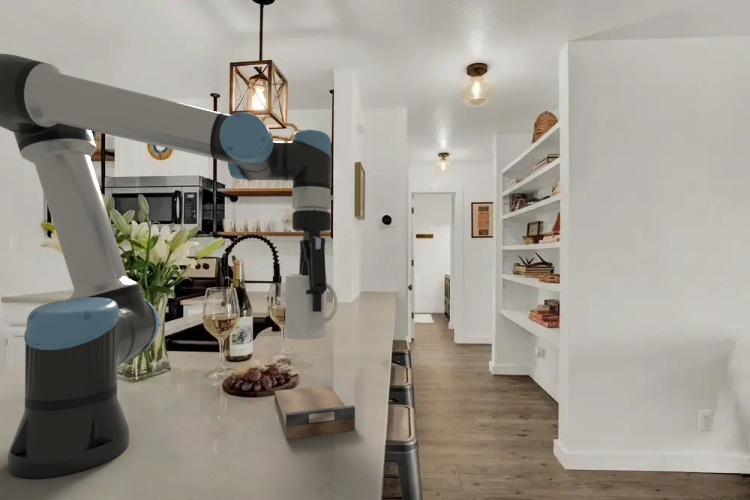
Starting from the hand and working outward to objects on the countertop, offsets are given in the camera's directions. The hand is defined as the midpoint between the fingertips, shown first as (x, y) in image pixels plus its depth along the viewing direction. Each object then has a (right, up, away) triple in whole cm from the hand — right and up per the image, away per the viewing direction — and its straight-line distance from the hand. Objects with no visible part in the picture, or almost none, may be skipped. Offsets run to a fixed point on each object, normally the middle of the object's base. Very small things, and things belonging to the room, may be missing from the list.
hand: (310, 324), depth 84 cm
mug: (0, -2, -1) cm, 3 cm away
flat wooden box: (0, -17, -1) cm, 17 cm away
